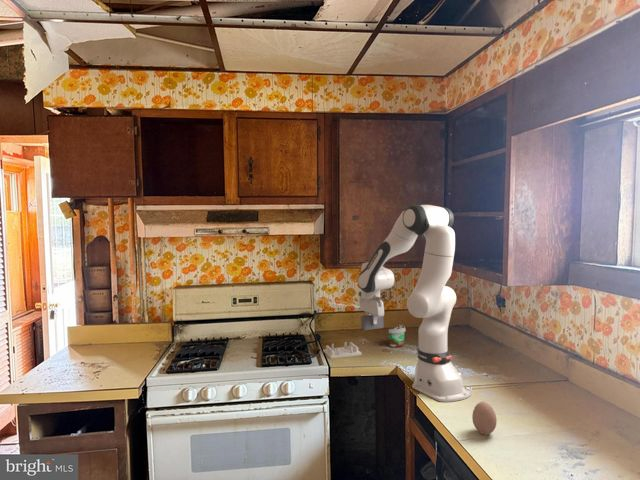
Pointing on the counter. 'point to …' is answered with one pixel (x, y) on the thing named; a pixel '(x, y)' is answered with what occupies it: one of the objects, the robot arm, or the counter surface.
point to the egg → (484, 418)
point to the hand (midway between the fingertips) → (372, 322)
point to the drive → (367, 322)
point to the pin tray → (342, 351)
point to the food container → (397, 336)
